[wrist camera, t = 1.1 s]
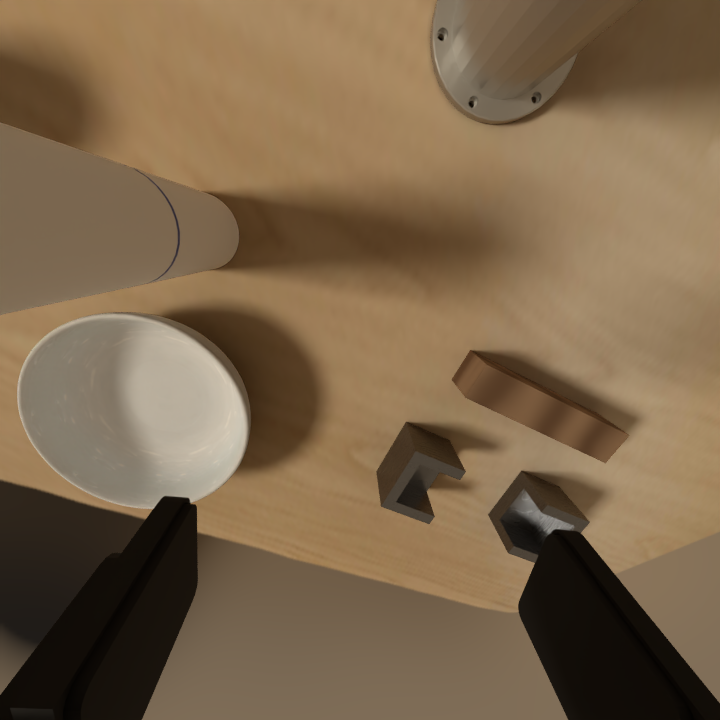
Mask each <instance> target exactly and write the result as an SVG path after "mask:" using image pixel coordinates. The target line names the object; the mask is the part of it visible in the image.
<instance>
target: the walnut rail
mask: <svg viewBox="0 0 720 720" xmlns="http://www.w3.org/2000/svg"><path fill="white" fill-rule="evenodd" d="M452 381H453V382H454V383H455V385H456V386H457V387H458V389H459V390H460V391H461V393H462V394H463V395H464V396H465V398H467V399H470V400H472V401H474V402H476V403H478V404H480V405H482V406H485V407H487V408H489V409H491V410H493V411H495V412H497V413H499V414H502V415H504V416H506V417H508V418H510V419H512V420H514V421H517V422H519V423H521V424H523V425H525V426H527V427H529V428H532V429H534V430H536V431H538V432H540V433H542V434H544V435H547V436H549V437H551V438H553V439H555V440H557V441H559V442H561V443H564V444H566V445H568V446H570V447H572V448H574V449H576V450H579V451H581V452H583V453H585V454H587V455H589V456H591V457H594V458H596V459H598V460H600V461H602V462H604V463H606V462H607V461H608V460H609V459H610V457H611V456H612V455H613V454H614V453H615V452H616V450H617V449H618V448H619V447H620V446H621V445H622V443H623V442H624V441H625V440H626V439H627V438H628V436H629V435H628V434H627V433H625V432H624V431H622V430H621V429H619V428H618V427H616V426H615V425H614V424H612V423H611V422H609V421H608V420H606V419H605V418H603V417H602V416H600V415H599V414H597V413H595V412H593V411H591V410H589V409H587V408H585V407H583V406H581V405H579V404H577V403H575V402H573V401H571V400H569V399H567V398H565V397H563V396H561V395H559V394H557V393H555V392H553V391H551V390H549V389H547V388H545V387H543V386H541V385H539V384H537V383H535V382H533V381H531V380H529V379H527V378H525V377H523V376H521V375H519V374H517V373H515V372H513V371H511V370H509V369H507V368H505V367H503V366H501V365H499V364H497V363H495V362H493V361H491V360H489V359H487V358H485V357H483V356H481V355H479V354H477V353H475V352H473V351H471V350H470V352H469V353H468V355H467V356H466V358H465V359H464V361H463V363H462V364H461V366H460V367H459V369H458V371H457V372H456V374H455V375H454V377H453V378H452Z"/></svg>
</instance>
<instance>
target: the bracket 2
mask: <svg viewBox="0 0 720 720" xmlns="http://www.w3.org/2000/svg"><path fill="white" fill-rule="evenodd" d="M488 515H489V517H490V519H491V521H492V523H493V525H494V527H495V529H496V531H497V533H498V534H499V536H500V538H501V540H502V542H503V544H504V546H505V548H506V550H507V552H508V553H509V554H512V555H515V556H518V557H520V558H523V559H526V560H528V561H531V562H534V563H535V562H536V560H537V557H538V555H539V553H540V550H541V548H542V545H543V543H544V541H545V538H546V536H547V535H549V534H551V532H552V531H553V530H554V529H561V530H573V531H578V532H580V533H581V532H582V531H583V529H584V528H585V527H586V526H587V525H588V524H589V523H590V522H589V521H588V520H587V518H586V517H585V516H584V515H583V514H582V513H581V512H580V510H579V509H578V508H577V507H576V506H575V505H574V503H573V502H572V501H571V500H570V499H569V498H568V496H567V495H566V494H565V493H564V492H563V491H562V490H561V488H560V487H558V486H556V485H554V484H551V483H549V482H546V481H544V480H542V479H539V478H537V477H535V476H532V475H530V474H528V473H525V472H523V471H521V472H520V474H519V475H518V476H517V477H516V479H515V480H514V481H513V483H512V484H511V485H510V487H509V488H508V489H507V491H506V492H505V493H504V495H503V496H502V497H501V499H500V500H499V501H498V503H497V504H496V505H495V506H494V508H493V509H492V510H491V512H490V513H489V514H488Z"/></svg>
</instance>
